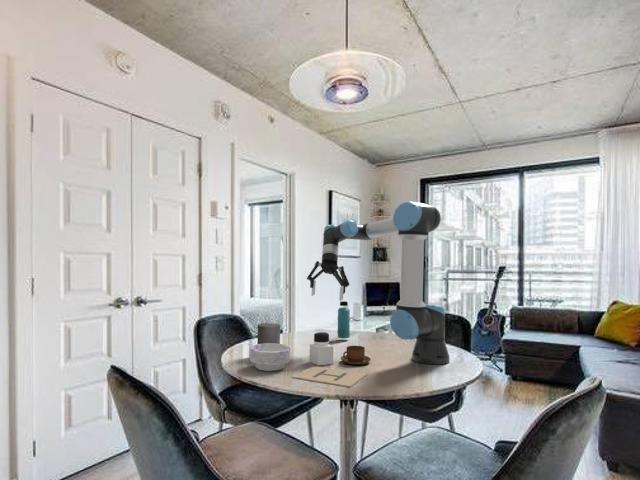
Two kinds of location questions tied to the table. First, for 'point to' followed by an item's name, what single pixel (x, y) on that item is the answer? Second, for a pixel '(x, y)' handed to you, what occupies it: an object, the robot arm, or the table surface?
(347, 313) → the beverage bottle
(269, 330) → the pillar candle
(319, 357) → the medicine bottle
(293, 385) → the table surface
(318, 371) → the letter card
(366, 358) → the cup and saucer
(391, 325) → the robot arm
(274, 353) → the paper bowls
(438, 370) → the table surface
